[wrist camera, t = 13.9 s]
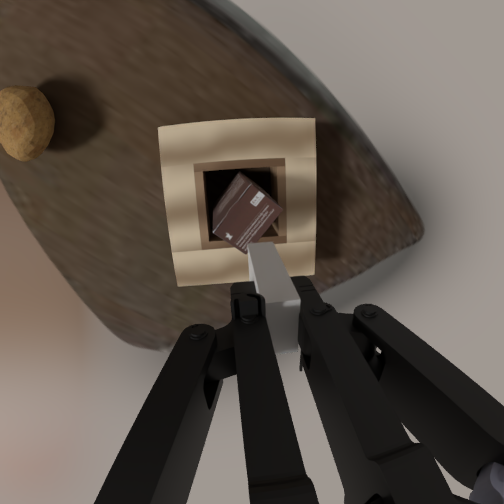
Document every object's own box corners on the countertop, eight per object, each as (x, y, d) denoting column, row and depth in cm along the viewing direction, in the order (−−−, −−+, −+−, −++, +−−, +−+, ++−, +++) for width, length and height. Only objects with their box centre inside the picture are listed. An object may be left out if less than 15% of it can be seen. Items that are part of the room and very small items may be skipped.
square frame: (166, 129, 33) (158, 127, 29) (303, 121, 35) (314, 118, 30) (182, 270, 41) (177, 286, 36) (304, 259, 42) (314, 274, 38)
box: (238, 223, 39) (245, 257, 28) (212, 204, 38) (207, 231, 27) (266, 189, 38) (285, 209, 27) (240, 168, 36) (247, 180, 25)
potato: (34, 72, 26) (4, 65, 19) (80, 120, 31) (50, 118, 24) (3, 121, 28) (-28, 123, 21) (44, 172, 33) (13, 181, 25)
